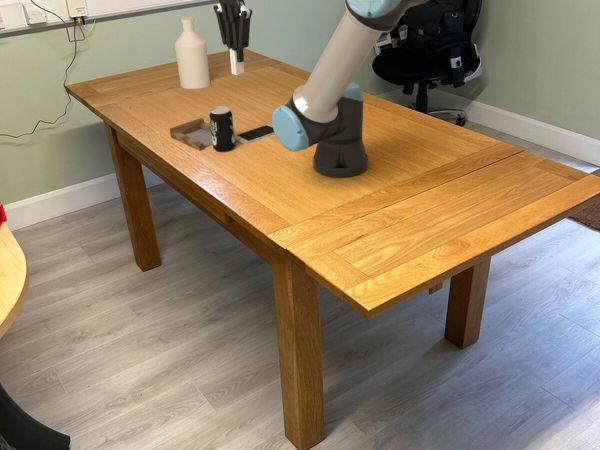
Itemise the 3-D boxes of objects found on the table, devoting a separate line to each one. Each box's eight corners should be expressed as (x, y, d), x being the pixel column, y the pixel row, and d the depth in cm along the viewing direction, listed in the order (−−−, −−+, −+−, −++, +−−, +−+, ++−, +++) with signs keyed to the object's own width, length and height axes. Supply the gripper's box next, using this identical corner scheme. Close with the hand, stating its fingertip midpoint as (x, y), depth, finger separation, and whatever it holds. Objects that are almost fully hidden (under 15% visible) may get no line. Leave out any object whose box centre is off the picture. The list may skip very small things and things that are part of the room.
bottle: (208, 88, 224) (200, 21, 212) (177, 89, 225) (167, 22, 212) (212, 79, 235) (205, 14, 222) (183, 80, 235) (174, 15, 222)
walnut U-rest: (231, 138, 180) (231, 129, 179) (200, 150, 173) (198, 141, 172) (202, 126, 190) (201, 117, 189) (171, 137, 183) (169, 128, 182)
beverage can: (231, 153, 171) (227, 114, 165) (210, 152, 172) (205, 113, 166) (238, 144, 177) (234, 106, 170) (217, 143, 178) (213, 105, 172)
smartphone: (230, 139, 181) (230, 136, 181) (270, 126, 190) (269, 123, 189) (244, 145, 177) (243, 142, 176) (283, 132, 185) (283, 129, 185)
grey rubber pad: (225, 139, 180) (225, 138, 180) (203, 148, 175) (202, 146, 175) (202, 130, 188) (202, 129, 187) (180, 137, 183) (180, 136, 182)
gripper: (259, -22, 141) (265, 74, 154) (224, -27, 150) (233, 65, 162) (234, -18, 137) (243, 81, 149) (200, -23, 146) (211, 71, 158)
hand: (238, 73), depth 156 cm, fingers closed
